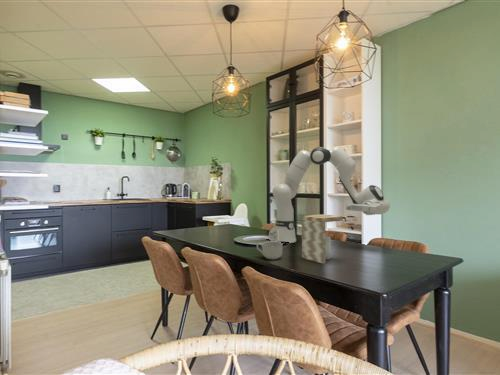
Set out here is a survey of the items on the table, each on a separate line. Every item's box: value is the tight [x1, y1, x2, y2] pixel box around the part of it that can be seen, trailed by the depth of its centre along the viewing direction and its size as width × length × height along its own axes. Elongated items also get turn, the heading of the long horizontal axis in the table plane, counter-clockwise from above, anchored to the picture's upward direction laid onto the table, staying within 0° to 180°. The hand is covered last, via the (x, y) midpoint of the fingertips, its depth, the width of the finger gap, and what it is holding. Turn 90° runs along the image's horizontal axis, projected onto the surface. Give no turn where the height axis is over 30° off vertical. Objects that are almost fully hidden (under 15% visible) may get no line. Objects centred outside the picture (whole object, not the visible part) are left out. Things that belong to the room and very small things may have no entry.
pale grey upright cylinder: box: [325, 235, 332, 260], centre depth 159 cm, size 6×6×11 cm
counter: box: [301, 213, 343, 265], centre depth 158 cm, size 15×14×22 cm
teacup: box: [256, 240, 284, 261], centre depth 161 cm, size 14×11×8 cm
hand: (354, 208), depth 172 cm, fingers open, 8 cm apart
